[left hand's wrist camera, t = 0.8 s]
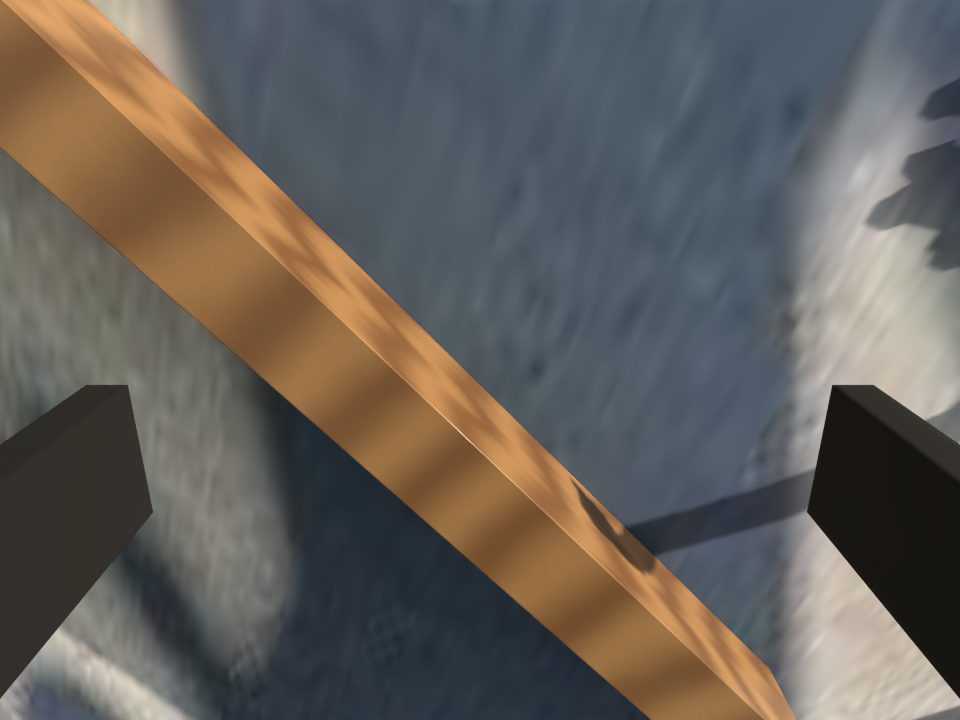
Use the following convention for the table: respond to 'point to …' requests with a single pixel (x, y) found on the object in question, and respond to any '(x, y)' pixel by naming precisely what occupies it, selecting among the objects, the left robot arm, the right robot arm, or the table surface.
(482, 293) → the table surface
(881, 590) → the left robot arm
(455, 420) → the beam
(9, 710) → the table surface
